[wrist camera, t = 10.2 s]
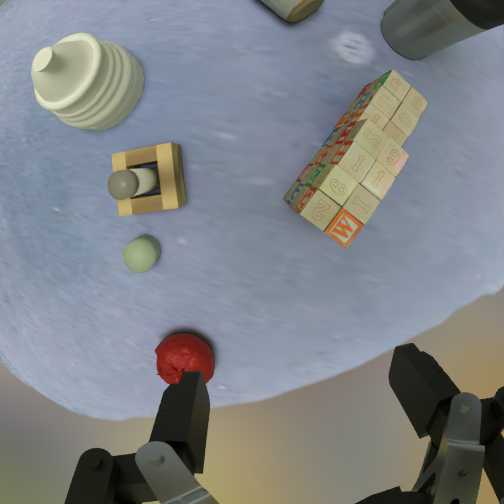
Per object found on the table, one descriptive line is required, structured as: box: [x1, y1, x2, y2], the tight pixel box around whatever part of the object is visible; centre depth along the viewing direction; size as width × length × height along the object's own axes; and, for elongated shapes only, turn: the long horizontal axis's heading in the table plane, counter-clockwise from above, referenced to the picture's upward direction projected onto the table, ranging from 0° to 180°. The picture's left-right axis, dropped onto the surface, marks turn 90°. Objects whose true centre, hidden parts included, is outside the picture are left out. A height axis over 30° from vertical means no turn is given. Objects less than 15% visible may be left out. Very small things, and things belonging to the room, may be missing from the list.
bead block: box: [112, 143, 187, 216], centre depth 34 cm, size 8×8×5 cm
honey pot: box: [31, 33, 144, 131], centre depth 24 cm, size 13×13×18 cm
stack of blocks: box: [284, 70, 428, 248], centre depth 31 cm, size 21×6×12 cm, turn 146°
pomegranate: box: [155, 333, 215, 384], centre depth 41 cm, size 10×10×9 cm
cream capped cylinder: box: [108, 167, 161, 200], centre depth 31 cm, size 3×3×12 cm
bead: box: [123, 235, 161, 273], centre depth 38 cm, size 4×4×4 cm
